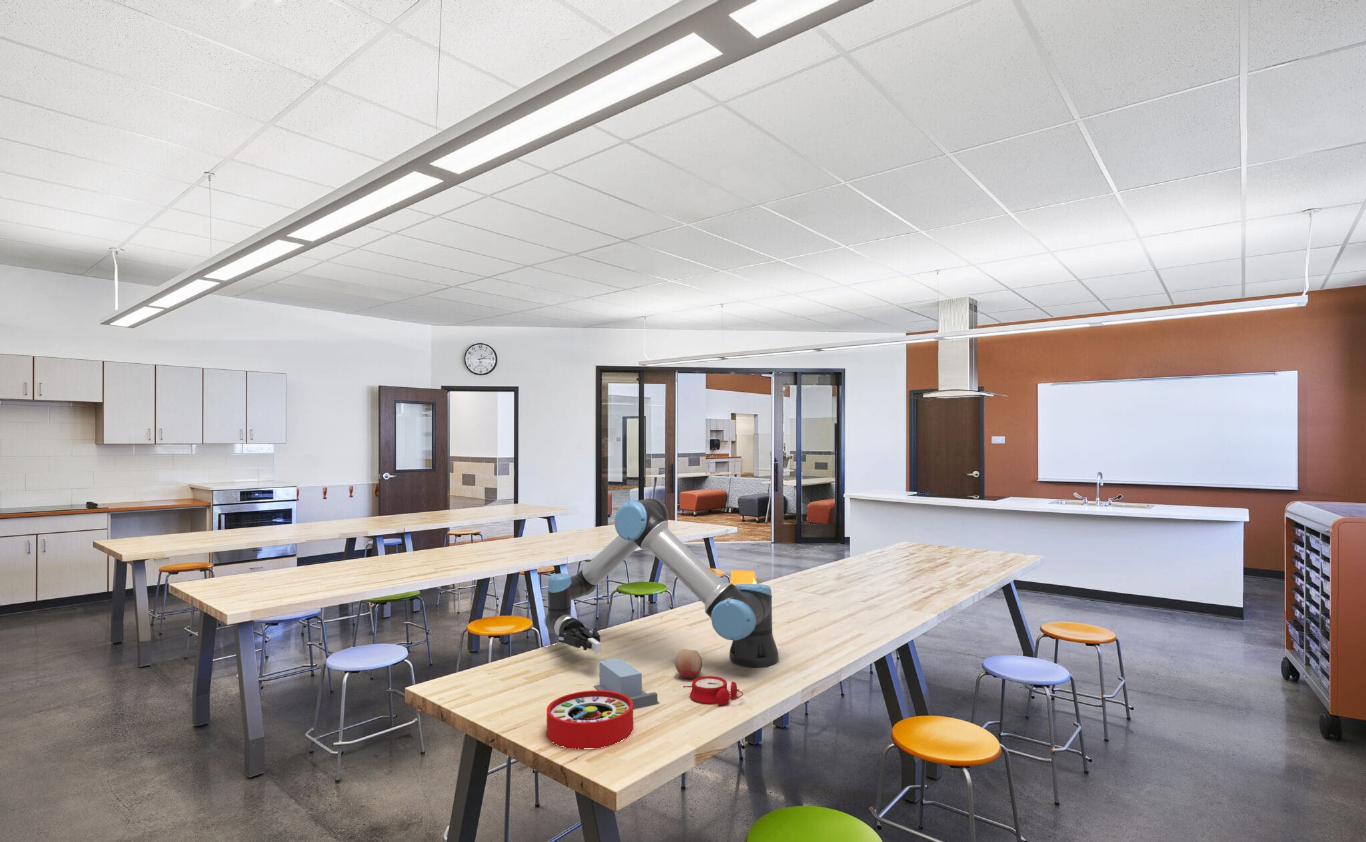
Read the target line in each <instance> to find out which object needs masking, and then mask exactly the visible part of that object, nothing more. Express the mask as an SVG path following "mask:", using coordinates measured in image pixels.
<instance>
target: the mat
mask: <svg viewBox="0 0 1366 842" xmlns="http://www.w3.org/2000/svg"><path fill="white" fill-rule="evenodd" d="M593 688H595V689H596V690H601V691H608V690H607V689H606V688H604V687H603V686H602V685H601V684H596V685H593ZM629 698H630V699H631V700H632V702H633V710H636V709H641V708H644V707H649V706H653V705H658V704H660V702H659V701H658V693H657V692H655V691H653V692H649V693H647V692H646V691H645V690H643V689H642V695H638V696H634V697H629ZM635 708H636V709H635Z"/></svg>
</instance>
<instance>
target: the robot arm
mask: <svg viewBox="0 0 1366 842" xmlns="http://www.w3.org/2000/svg"><path fill="white" fill-rule="evenodd" d="M614 528H615V531H616V533H617V534H618V535H617V536H616V537H615V538H614V539H613V540H612V541H611V542H610V543H609V544H607V545H606V546H605V547H604V548H603V549H602V550H601V551H600V552H599V553H598V554H597V555H595V556H594V557H593V558H592V559H591V560H590V561H589V562H588V563H587V564H586V565H585V566H584V567H583V568H582V569H581V570H579V571H578V572H577V574H575V575H573V576H571V575H570V574H569V573H555V574H554V573H553V574H551V575H550V576H549V577H548V578H547V579H548V582H547V583H548V584H547V602H548V603H547V612H546V614H545V616H544V625H545V627H546V628H547V630H548V631H549V633H550V632H551V633H552V634H554V635H556V636H557V637H558V643H561V644H566V645H569V646H571V647H573V648H577V649H580V648H581V647H582V649H583V650H582V651H587V650H590V651H592V652H593V653H595V654H601V653H602V642H601V635H600V633H599V631H598V629H599V628H597V627H595V628H592V629H591V630H590V629H589V628H586V627H585V625H584V623H583V622H582V621H580V620H579V619H577V618H576V617H574V616H572V601H574V600H576V599H579V598H582V597H584V596H588V595H590V594H591V593H593V592H595V591H596V589H597V588H598V585H599V584H600V583H601V582H602V581H603V580H604V579H605V578H606V577H607V576H609V575H610V573H611V572H613V571H614V570H615V569H617V567H618V566H620V565H621V564H622V563H623V562H624V561H626V559H627V558H628V557H629V556H631V554H633V553H634V552H635V551H636V550H637V549H639V548H640V549H641V550H643V551H645V550H646V551H647V550H648V551H650V552H651V553H652V554H653V555H654V556H655V557H656V558H657V559H658V560H659V561H660V562H661V563H662V564H663V565H664V566H665V567H666V568H667V569H668V570H669V571H670V572H671V573H672V574H673V575H674V576H675V577H676V578H677V579H678V580H679V581H680V582H681V583H682V584H683V585H684V586H685V587H686V588H688V590H689V591H690V592H691V593H693V595H694V596H696V598H697V599H698V600H699V601H701V602H702V604H703V605H704V613H706V615H707V616H709V618H710V620H711V625H712V628H713V629H714V631H715V633H717V635H718V636H720V637H721V638H723V639H725V640H727V641H731V645H730V649H729V653H728V654H729V656H728V657H729V661H730V662H731V663H732V664H734V665H735V664H736V665H737V666H742V667H747V668H761V667H762V668H763V667H768V666H772V665H775V664H777V663H778V662H779V659H780V658H779V649H778V646H777V644H776V641H775V639H774V635H773V602H772V599H773V595H772V588H771V586H769V585H767V584H761V583H757V584H747V583H742V584H735V585H734V584H733V583H730V582H724V581H723V580H722V579H721V578H720V577H719V576H718V575H717V574H716V573H715V572H714V571H713V570H711V568H709V567H708V566H707V564H705V563H704V562H703V561H702V560H701V559H700V558H699V557H698V556H697V555H696V554H695V553H694V552H693V551H691V549H689V548H688V547H687V545H685V544H684V543H683V542H682V541H681V540H680V539H679V538H678V537H677V536H676V535H675V534H674V533H673V532H672V531H671V530H670V529H669V511H668V509H667V507H666V505H665V504H664V503H663V502H662V501H660V500H658V499H656V498H646V499H640V500H630V501H628V502H625V503H623V504H622V505H620V507H618V509H617V510H616V513H615V514H614Z"/></svg>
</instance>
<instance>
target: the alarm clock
mask: <svg viewBox="0 0 1366 842" xmlns="http://www.w3.org/2000/svg"><path fill="white" fill-rule="evenodd" d="M682 687H683V688H691V691H690V693H689V698H690V700H692V701H693V702H695V703H697V704H703V705H704V704H705V705H716V704H717V705H718V706H719V707H720V706H721V707H722V706H723V705H724V706H726V705H728V703H729V702H730V699H731V700H733V699H734V700H735V699H739V698H741V697H743V695H744V692H743V691H740V689H738V684H737V683H736V682H735V681H732V680H731V683H730V691H729V690H728V682H727V680H726V679H725V678H723V677H720V676H715V675H714V676H713V675H708V676H707V675H704V676H700V677H695V678H693V680H692V681H691V685H683V686H682ZM738 693H741V695H739V696H737V694H738ZM724 706H723V707H724Z"/></svg>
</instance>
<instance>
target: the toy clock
mask: <svg viewBox="0 0 1366 842" xmlns="http://www.w3.org/2000/svg"><path fill="white" fill-rule="evenodd" d="M632 730H633V731H634V709H633V702H632V700H631V699H630V698H629V697H627V696H626V695H623V694H621V693H617V692H612V691H601V690H597V689H596V690H584V691H577V692H576V691H575V692H572V693H568V694H565V695H563V696H560V697H557V698H555V699H553V700H552V701H551V702H550V703H549V704H548V706H547V708H546V737H548V738H547V740H548V739H549V740H550V741H551V742H554V744H553V745H555V744H557V745H559V746H564V747H566V748H565V749H567V748H574V749H575V748H576V749H578V748H579V749H584V748H599V749H602V748H601V747H604V746H608V747H610V746H609V745H612V744H615V743H617V742H620V741H621V740H623V739H625V738H626V739H628V738H629V737H630V736H631V735H632V734H631V732H632ZM632 733H633V732H632ZM630 734H631V735H630ZM629 735H630V736H629ZM628 736H629V737H628ZM627 737H628V738H627ZM626 739H625V740H626ZM549 740H548V741H549ZM550 741H549V742H550ZM623 741H624V740H623ZM551 742H550V743H551ZM620 743H621V742H620ZM617 744H618V743H617ZM557 745H556V746H557ZM615 745H616V744H615ZM559 746H558V747H559ZM612 746H613V745H612ZM604 748H605V747H604ZM574 749H573V750H574Z"/></svg>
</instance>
